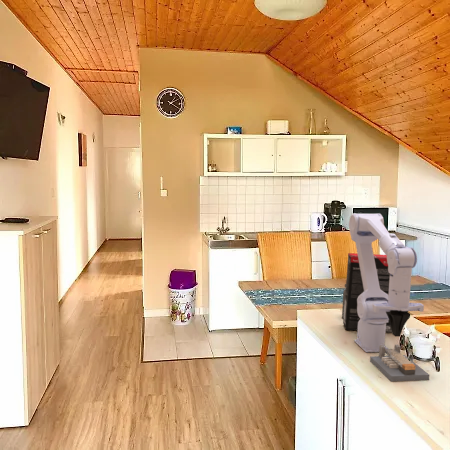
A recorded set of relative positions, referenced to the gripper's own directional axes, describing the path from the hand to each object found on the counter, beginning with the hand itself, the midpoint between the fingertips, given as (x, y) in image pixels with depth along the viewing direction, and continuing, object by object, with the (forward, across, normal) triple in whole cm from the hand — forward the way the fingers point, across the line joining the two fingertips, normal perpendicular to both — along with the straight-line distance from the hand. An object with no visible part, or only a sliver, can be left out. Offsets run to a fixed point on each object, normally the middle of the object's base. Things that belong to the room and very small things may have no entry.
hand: (396, 335), depth 133 cm
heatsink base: (+9, 0, -2) cm, 10 cm away
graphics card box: (+10, +6, +30) cm, 32 cm away
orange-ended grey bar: (+6, 0, -2) cm, 7 cm away
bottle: (+10, +4, +42) cm, 43 cm away
